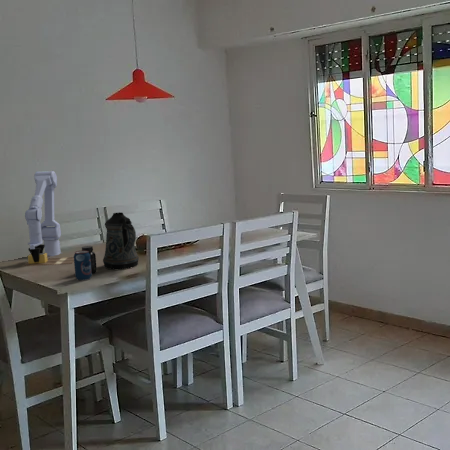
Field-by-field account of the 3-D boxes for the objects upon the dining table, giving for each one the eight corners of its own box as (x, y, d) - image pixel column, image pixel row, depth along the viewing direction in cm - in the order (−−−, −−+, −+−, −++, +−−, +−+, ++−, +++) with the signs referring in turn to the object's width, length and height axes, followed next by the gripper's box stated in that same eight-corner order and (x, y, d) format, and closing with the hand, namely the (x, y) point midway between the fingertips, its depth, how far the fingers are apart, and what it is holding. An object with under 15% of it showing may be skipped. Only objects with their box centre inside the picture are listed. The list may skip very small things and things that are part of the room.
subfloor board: (31, 261, 307) (31, 259, 306) (79, 258, 307) (78, 256, 306) (21, 268, 291) (21, 266, 291) (71, 265, 291) (71, 263, 291)
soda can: (85, 281, 259) (83, 253, 257) (72, 280, 262) (69, 253, 260) (95, 277, 265) (93, 250, 264) (82, 276, 268) (79, 249, 266)
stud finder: (31, 261, 300) (30, 253, 300) (47, 260, 300) (46, 252, 300) (28, 263, 296) (27, 255, 295) (45, 262, 296) (44, 254, 295)
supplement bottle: (78, 274, 273) (76, 248, 271) (87, 270, 279) (84, 245, 277) (91, 274, 270) (89, 248, 268) (100, 271, 276) (97, 245, 274)
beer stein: (114, 261, 296) (110, 210, 292) (150, 262, 290) (147, 210, 286) (96, 269, 281) (92, 215, 277) (134, 270, 274) (129, 215, 270)
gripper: (31, 231, 303) (34, 258, 305) (22, 236, 289) (25, 264, 291) (45, 230, 303) (48, 257, 305) (37, 235, 289) (40, 263, 291)
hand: (38, 260), depth 298 cm, fingers closed on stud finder, 4 cm apart
